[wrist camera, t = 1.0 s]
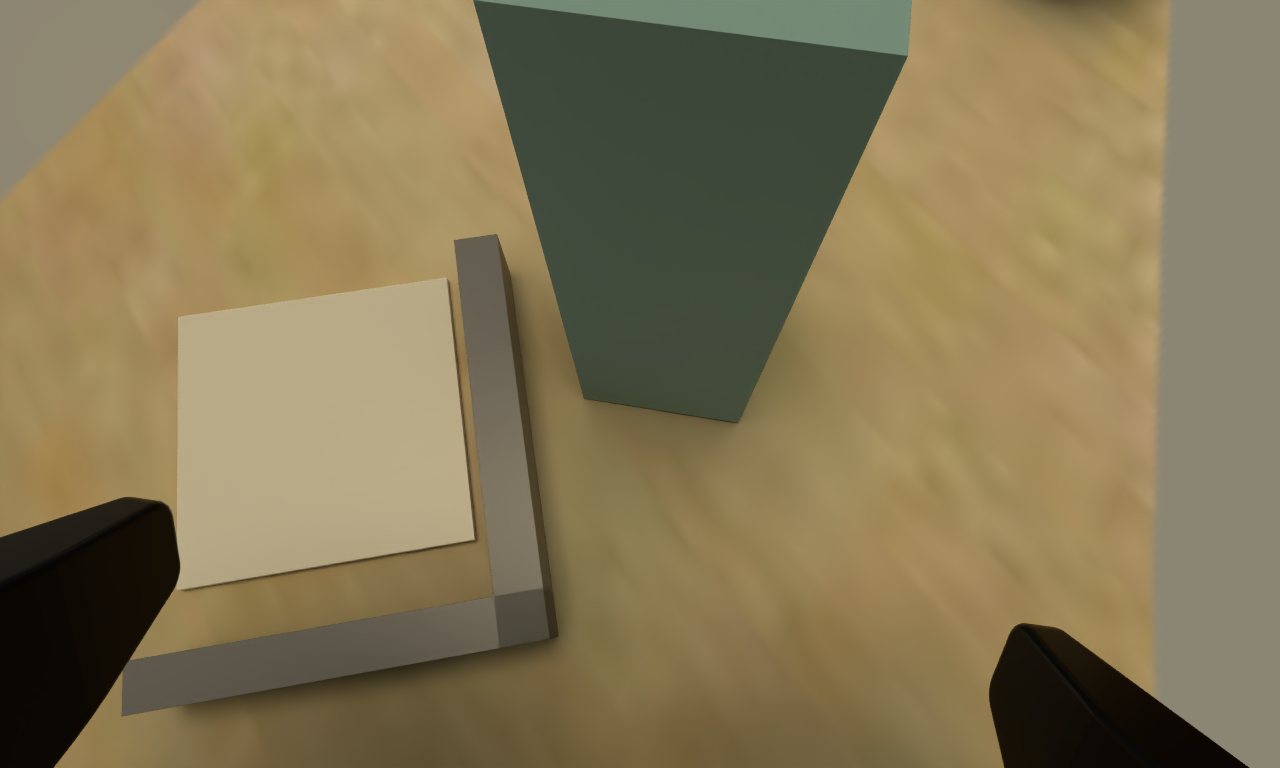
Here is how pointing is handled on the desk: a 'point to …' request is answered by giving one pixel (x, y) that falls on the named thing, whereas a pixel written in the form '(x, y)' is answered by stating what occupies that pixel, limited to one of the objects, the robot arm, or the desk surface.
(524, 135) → the teal block
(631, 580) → the desk surface
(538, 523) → the corner arena
